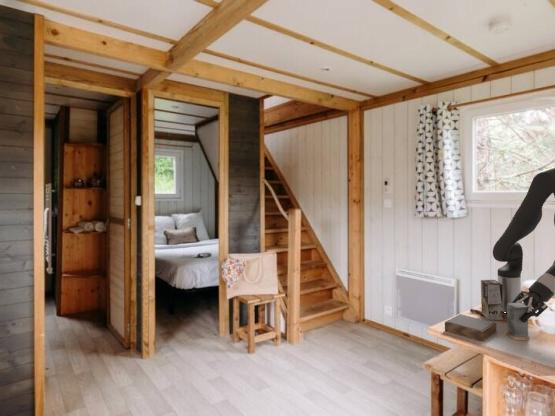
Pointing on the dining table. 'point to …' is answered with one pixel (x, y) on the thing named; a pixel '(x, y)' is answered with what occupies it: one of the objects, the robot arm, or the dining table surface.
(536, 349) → the dining table surface
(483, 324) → the plate
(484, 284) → the coffee box
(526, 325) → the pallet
